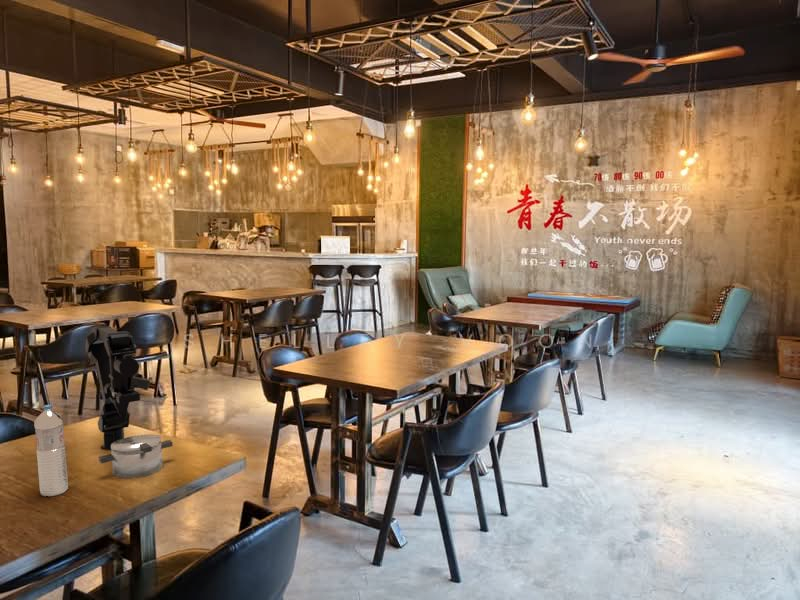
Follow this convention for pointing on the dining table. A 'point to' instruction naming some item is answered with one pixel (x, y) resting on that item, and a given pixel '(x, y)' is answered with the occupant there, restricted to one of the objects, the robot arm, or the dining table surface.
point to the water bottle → (51, 453)
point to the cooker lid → (136, 443)
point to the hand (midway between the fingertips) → (123, 418)
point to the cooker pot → (136, 461)
